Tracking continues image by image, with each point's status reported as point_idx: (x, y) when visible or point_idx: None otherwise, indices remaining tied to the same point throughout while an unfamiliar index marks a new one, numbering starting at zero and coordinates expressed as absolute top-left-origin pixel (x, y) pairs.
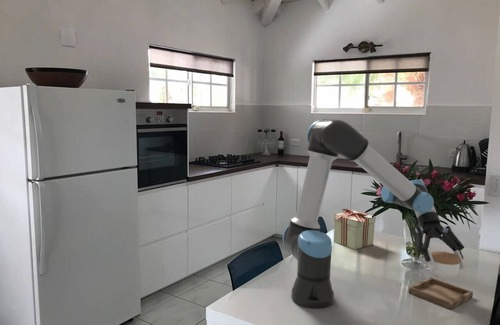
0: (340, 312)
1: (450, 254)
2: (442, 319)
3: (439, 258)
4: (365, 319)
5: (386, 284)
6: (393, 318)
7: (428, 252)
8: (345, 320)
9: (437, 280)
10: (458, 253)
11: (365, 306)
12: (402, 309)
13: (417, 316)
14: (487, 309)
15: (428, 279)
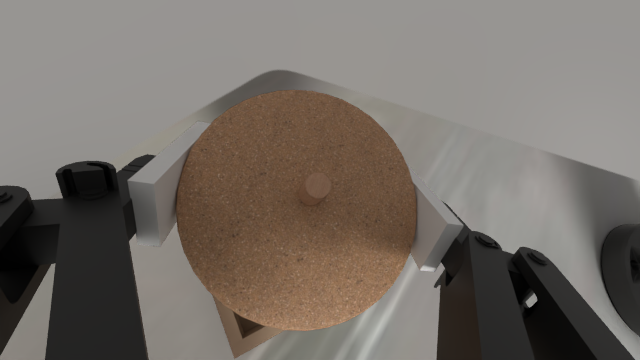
0: (590, 197)
1: (227, 212)
2: (383, 104)
3: (383, 161)
4: (547, 155)
5: (429, 352)
6: (490, 141)
7: (456, 221)
8: (584, 163)
9: (230, 314)
10: (168, 164)
11: (534, 210)
12: (453, 172)
13: (434, 133)
14: (208, 104)
15: (265, 332)
